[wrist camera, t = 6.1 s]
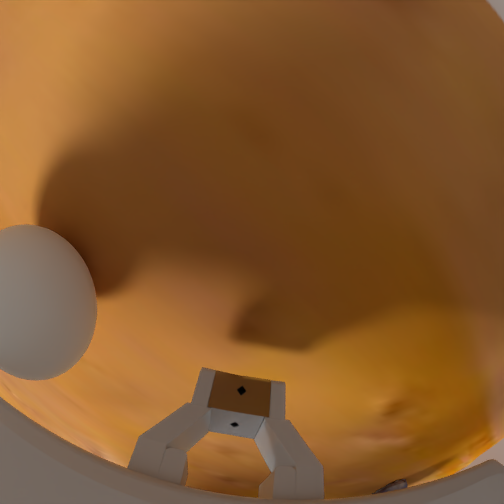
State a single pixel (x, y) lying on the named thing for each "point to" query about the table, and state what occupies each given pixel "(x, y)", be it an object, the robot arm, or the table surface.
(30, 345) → the cue ball
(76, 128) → the table surface
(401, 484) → the flask
